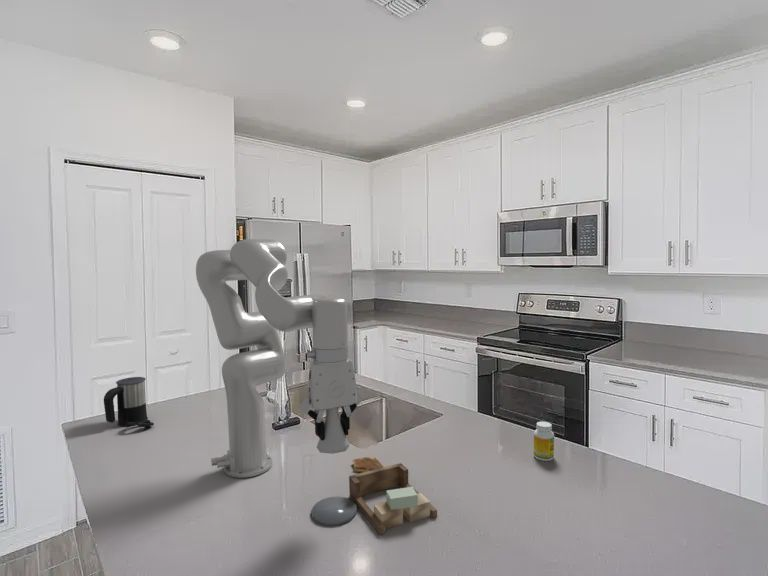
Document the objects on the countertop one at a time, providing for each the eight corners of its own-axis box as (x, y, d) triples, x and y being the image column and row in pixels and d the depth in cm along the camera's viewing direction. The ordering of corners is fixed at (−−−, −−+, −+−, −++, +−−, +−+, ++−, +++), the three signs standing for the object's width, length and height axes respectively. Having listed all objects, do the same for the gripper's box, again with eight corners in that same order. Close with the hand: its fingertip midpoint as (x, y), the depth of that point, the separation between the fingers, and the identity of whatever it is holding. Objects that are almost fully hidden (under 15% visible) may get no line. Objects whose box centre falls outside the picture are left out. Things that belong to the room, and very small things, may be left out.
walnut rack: (379, 534, 92) (379, 511, 92) (349, 496, 107) (349, 475, 107) (437, 516, 99) (437, 494, 98) (401, 482, 113) (400, 463, 113)
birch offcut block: (410, 523, 97) (410, 507, 96) (401, 513, 100) (401, 498, 100) (430, 516, 99) (430, 501, 99) (420, 507, 102) (420, 492, 102)
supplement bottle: (534, 451, 130) (535, 419, 129) (554, 454, 127) (555, 422, 127) (532, 459, 125) (532, 425, 124) (553, 463, 123) (553, 428, 122)
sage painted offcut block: (390, 510, 95) (390, 498, 95) (386, 501, 99) (386, 490, 99) (417, 505, 97) (417, 494, 97) (412, 497, 100) (412, 486, 100)
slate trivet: (320, 530, 94) (320, 527, 94) (306, 506, 103) (306, 503, 103) (363, 517, 98) (363, 514, 98) (346, 495, 107) (346, 492, 107)
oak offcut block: (382, 530, 94) (381, 514, 94) (374, 520, 98) (373, 504, 98) (403, 523, 96) (402, 508, 96) (394, 514, 100) (394, 499, 100)
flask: (317, 441, 103) (316, 398, 102) (349, 440, 103) (348, 397, 102) (315, 455, 96) (314, 410, 95) (349, 454, 96) (348, 408, 95)
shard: (389, 479, 116) (389, 472, 116) (361, 485, 113) (361, 478, 113) (375, 461, 126) (375, 455, 126) (349, 466, 123) (348, 460, 123)
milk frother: (130, 416, 162) (128, 375, 161) (170, 417, 160) (168, 377, 159) (100, 431, 148) (97, 388, 147) (144, 434, 146) (141, 389, 145)
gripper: (297, 362, 91) (299, 450, 92) (373, 353, 98) (374, 434, 100) (287, 355, 97) (290, 436, 99) (359, 347, 105) (361, 422, 106)
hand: (332, 434), depth 99 cm, fingers closed on flask, 4 cm apart
